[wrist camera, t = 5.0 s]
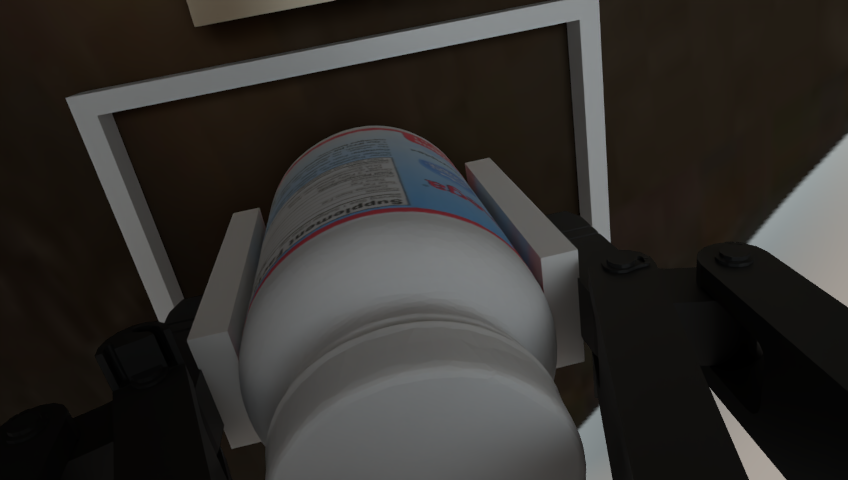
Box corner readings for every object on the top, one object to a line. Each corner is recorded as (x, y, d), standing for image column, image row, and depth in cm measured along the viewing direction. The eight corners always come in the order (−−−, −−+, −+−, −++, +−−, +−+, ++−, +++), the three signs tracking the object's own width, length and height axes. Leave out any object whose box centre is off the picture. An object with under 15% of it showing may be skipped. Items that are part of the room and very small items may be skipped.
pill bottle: (491, 253, 20) (678, 546, 9) (326, 328, 20) (335, 699, 10) (421, 84, 17) (577, 240, 7) (232, 172, 17) (105, 454, 7)
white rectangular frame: (194, 371, 24) (187, 389, 23) (80, 92, 19) (65, 98, 18) (600, 277, 25) (612, 290, 24) (584, -7, 20) (598, -7, 19)
